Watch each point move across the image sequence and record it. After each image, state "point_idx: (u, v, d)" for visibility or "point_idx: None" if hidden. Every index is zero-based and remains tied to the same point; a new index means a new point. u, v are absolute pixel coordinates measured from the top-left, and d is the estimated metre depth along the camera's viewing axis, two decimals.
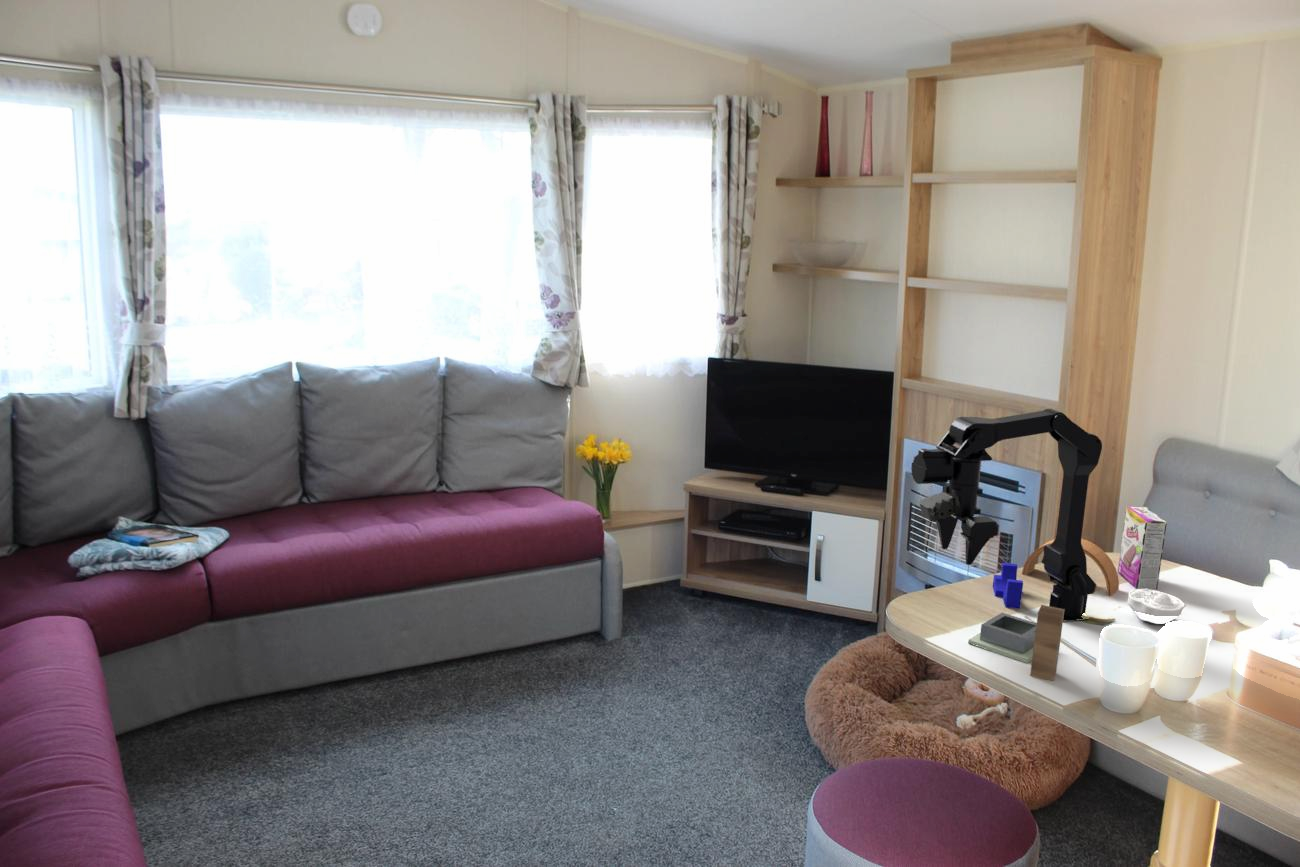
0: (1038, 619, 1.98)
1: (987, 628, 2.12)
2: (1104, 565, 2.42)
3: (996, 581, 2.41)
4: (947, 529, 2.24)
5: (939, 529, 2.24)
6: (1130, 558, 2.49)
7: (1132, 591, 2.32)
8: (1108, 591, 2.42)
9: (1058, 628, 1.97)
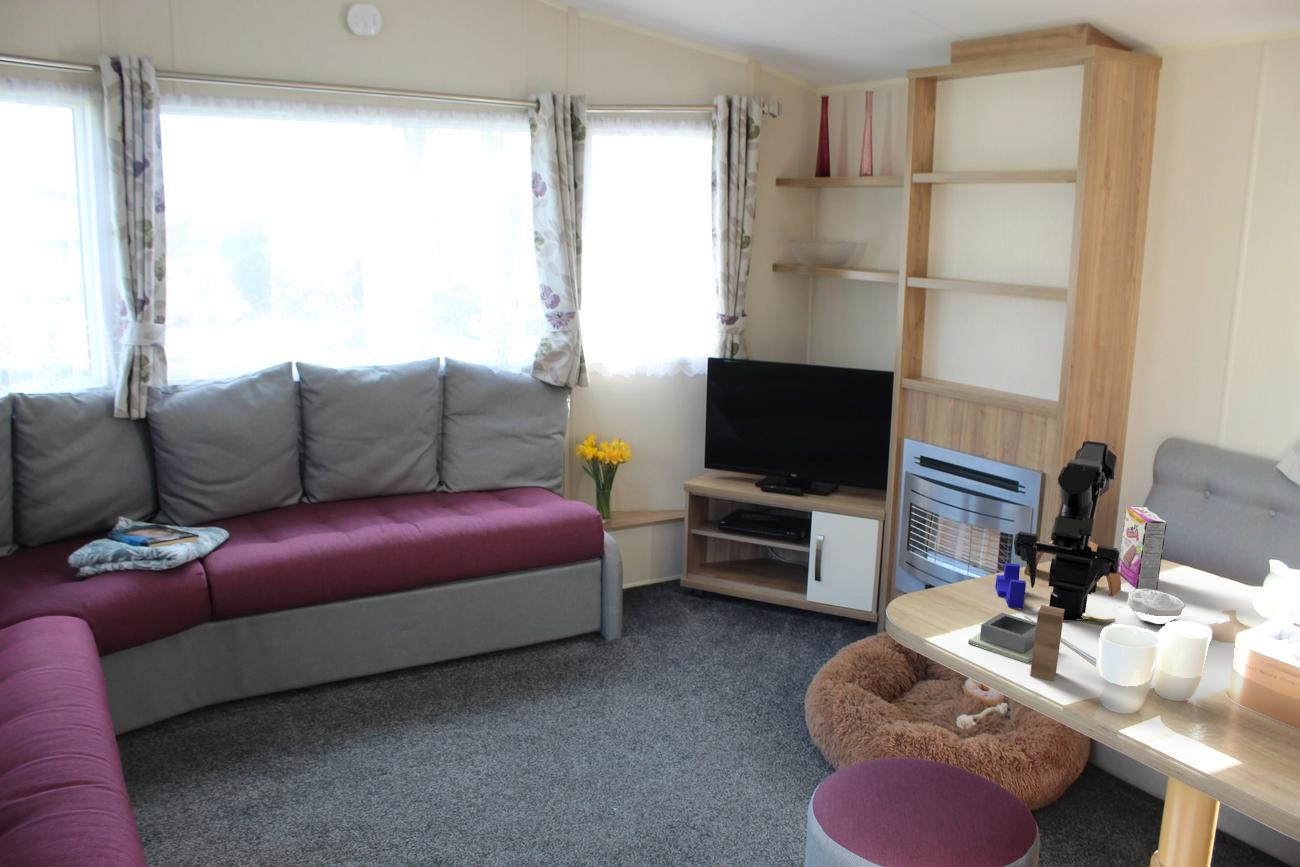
0: (1038, 619, 1.98)
1: (987, 628, 2.12)
2: None
3: (999, 581, 2.41)
4: (1035, 568, 2.10)
5: (1032, 564, 2.09)
6: (1130, 558, 2.49)
7: (1132, 591, 2.32)
8: (1110, 591, 2.42)
9: (1058, 628, 1.97)
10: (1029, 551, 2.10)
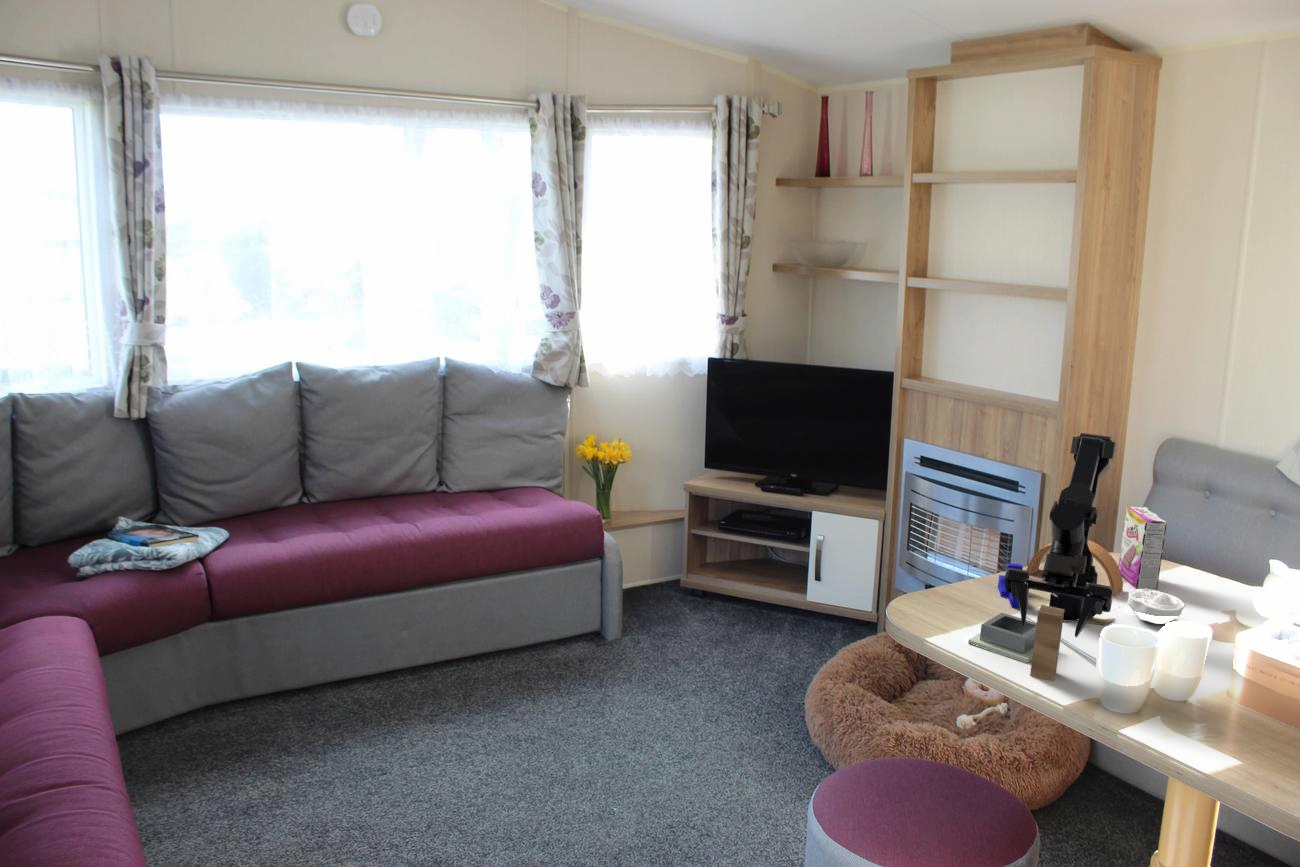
0: (1038, 619, 1.98)
1: (987, 628, 2.12)
2: (1108, 565, 2.42)
3: (1001, 581, 2.41)
4: (1026, 605, 2.05)
5: (1023, 601, 2.04)
6: (1130, 558, 2.49)
7: (1132, 591, 2.32)
8: None
9: (1058, 628, 1.97)
10: (1020, 588, 2.04)
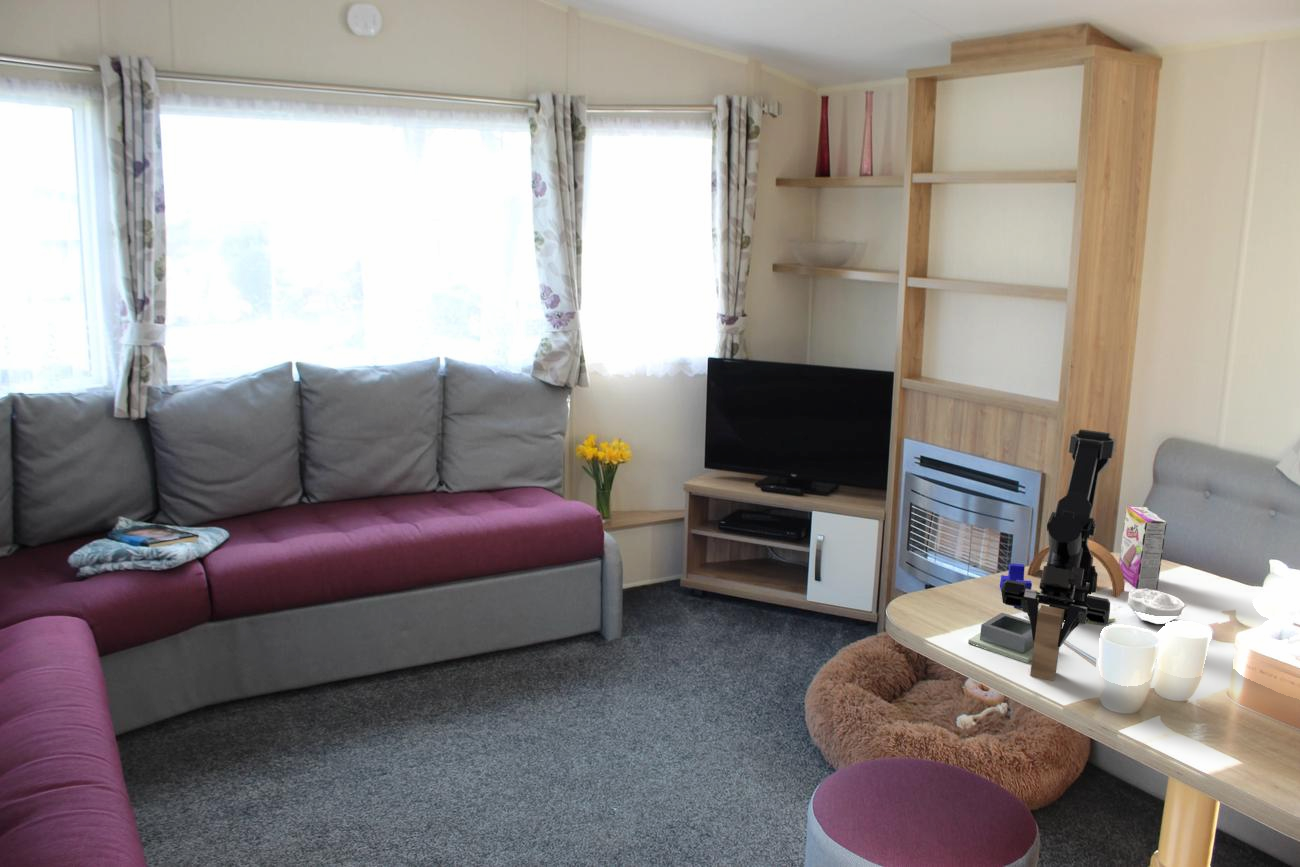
0: (1038, 619, 1.98)
1: (987, 628, 2.12)
2: (1110, 566, 2.42)
3: None
4: None
5: (1034, 617, 2.01)
6: (1130, 558, 2.49)
7: (1132, 591, 2.32)
8: (1114, 592, 2.42)
9: (1058, 628, 1.97)
10: (1031, 603, 2.02)
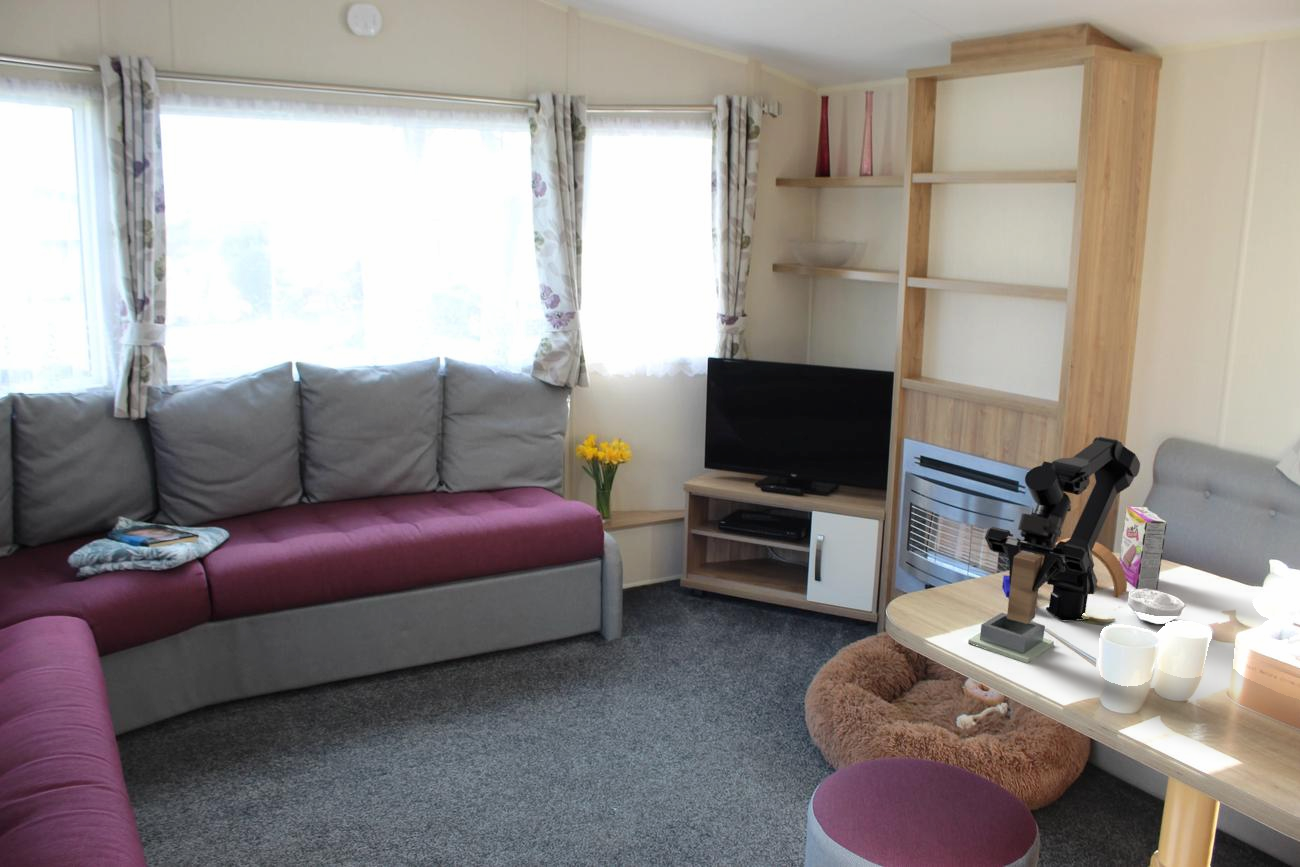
0: (1013, 564, 2.07)
1: (987, 628, 2.12)
2: (1111, 566, 2.42)
3: (1006, 582, 2.41)
4: None
5: None
6: (1130, 558, 2.49)
7: (1132, 591, 2.32)
8: (1115, 592, 2.42)
9: (1032, 573, 2.05)
10: (1010, 549, 2.10)
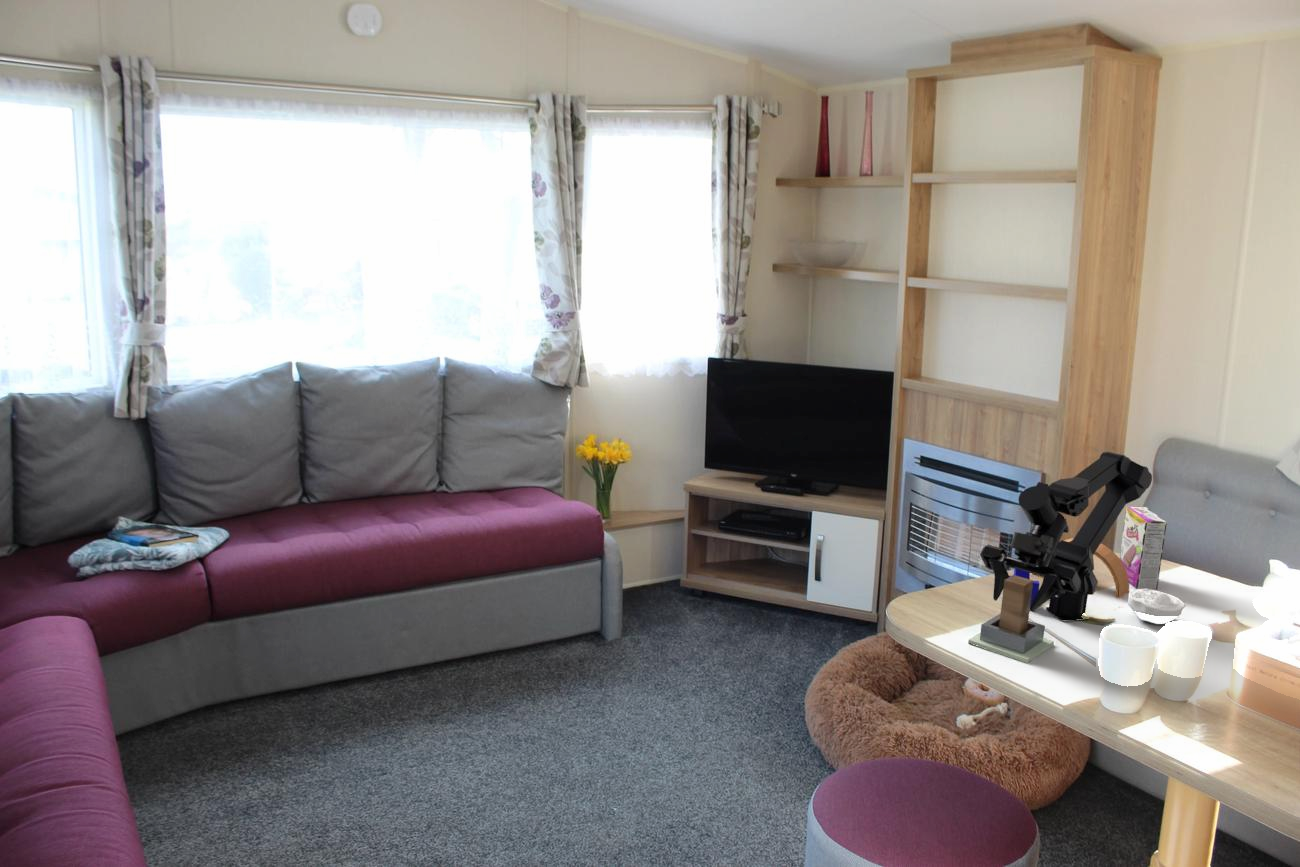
0: (1004, 587, 2.11)
1: (987, 628, 2.12)
2: (1113, 566, 2.42)
3: None
4: (1002, 582, 2.16)
5: (998, 578, 2.15)
6: (1130, 558, 2.49)
7: (1132, 591, 2.32)
8: (1117, 593, 2.41)
9: (1021, 596, 2.09)
10: (996, 565, 2.16)
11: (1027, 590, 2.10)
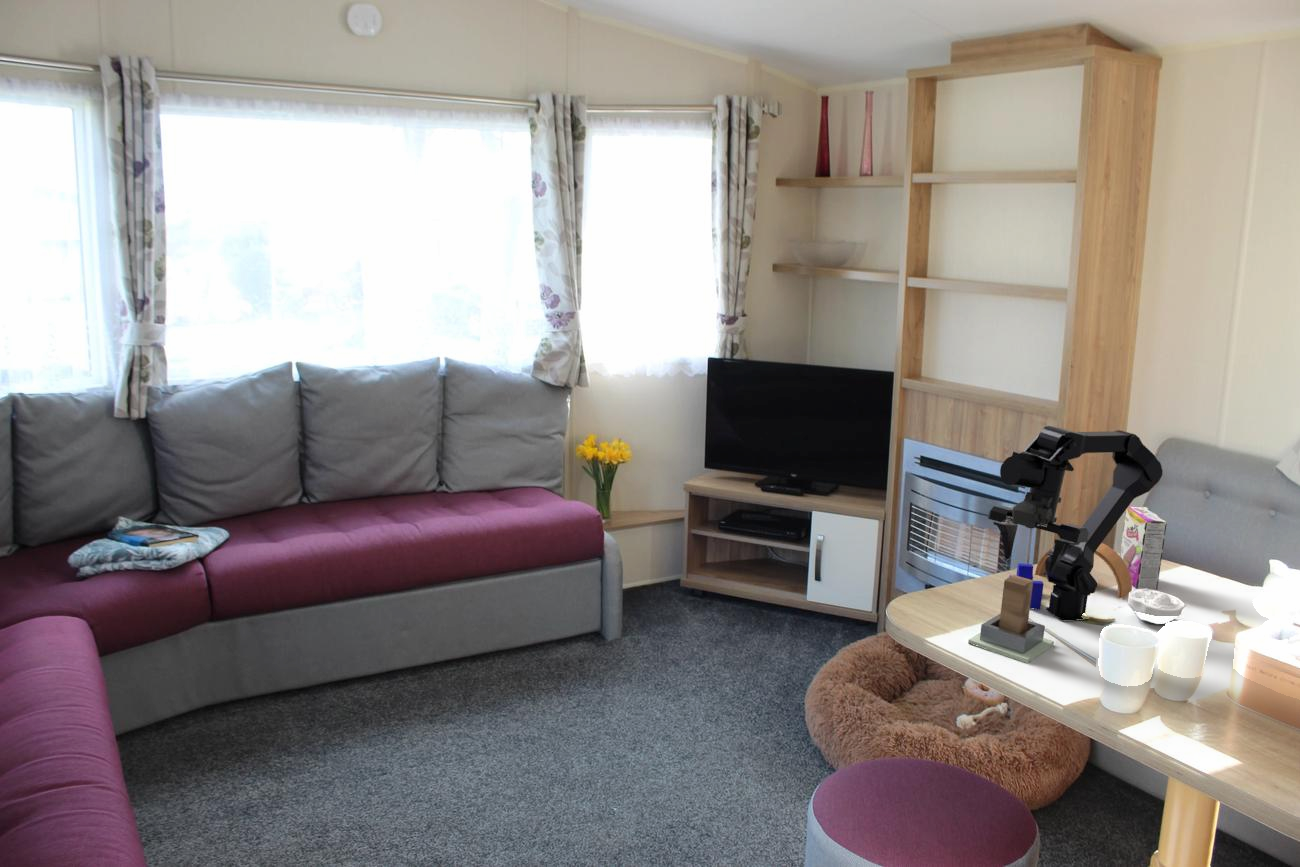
0: (1004, 587, 2.11)
1: (987, 628, 2.12)
2: (1116, 567, 2.41)
3: None
4: (1011, 539, 2.24)
5: (1005, 539, 2.23)
6: (1130, 558, 2.49)
7: (1132, 591, 2.32)
8: (1119, 593, 2.41)
9: (1021, 596, 2.09)
10: (1001, 528, 2.22)
11: (1027, 590, 2.10)
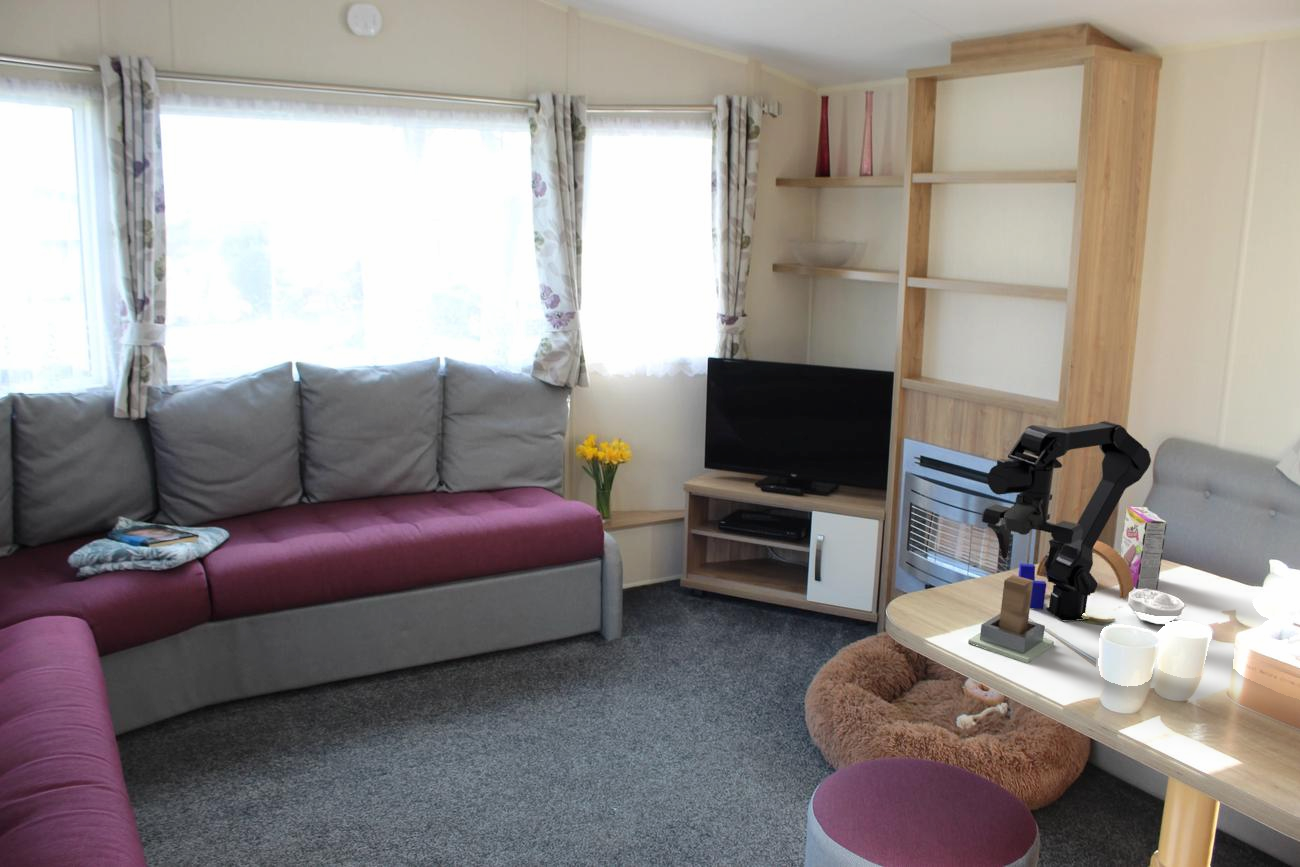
0: (1004, 587, 2.11)
1: (987, 628, 2.12)
2: (1117, 567, 2.41)
3: None
4: (1006, 538, 2.24)
5: (1001, 540, 2.23)
6: (1130, 558, 2.49)
7: (1132, 591, 2.32)
8: (1121, 593, 2.41)
9: (1021, 596, 2.09)
10: (995, 530, 2.23)
11: (1027, 590, 2.10)
